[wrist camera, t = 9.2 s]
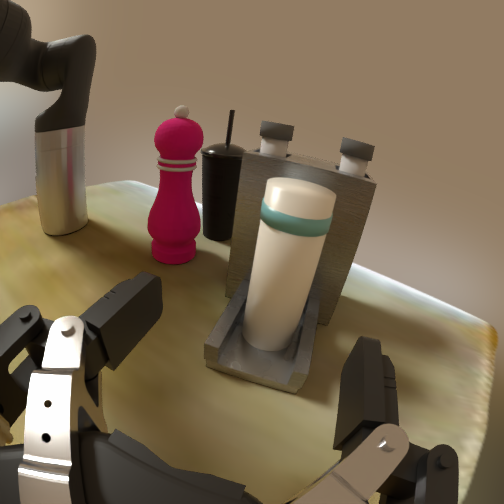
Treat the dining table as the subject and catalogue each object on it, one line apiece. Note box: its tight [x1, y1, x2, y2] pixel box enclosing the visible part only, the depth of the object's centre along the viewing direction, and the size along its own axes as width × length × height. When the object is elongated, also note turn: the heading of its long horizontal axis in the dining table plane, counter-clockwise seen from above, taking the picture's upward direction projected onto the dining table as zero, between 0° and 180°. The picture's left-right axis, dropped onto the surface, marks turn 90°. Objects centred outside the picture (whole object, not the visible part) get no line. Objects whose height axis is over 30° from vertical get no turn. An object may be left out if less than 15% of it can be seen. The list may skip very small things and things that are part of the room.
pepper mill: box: [147, 106, 203, 264], centre depth 32 cm, size 7×7×20 cm
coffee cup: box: [242, 177, 336, 351], centre depth 22 cm, size 5×5×14 cm
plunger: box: [260, 121, 294, 158], centre depth 26 cm, size 3×3×6 cm
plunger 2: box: [339, 137, 375, 177], centre depth 24 cm, size 3×3×6 cm
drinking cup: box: [201, 110, 246, 241], centre depth 40 cm, size 8×8×20 cm
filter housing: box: [204, 148, 377, 394], centre depth 24 cm, size 12×17×16 cm
